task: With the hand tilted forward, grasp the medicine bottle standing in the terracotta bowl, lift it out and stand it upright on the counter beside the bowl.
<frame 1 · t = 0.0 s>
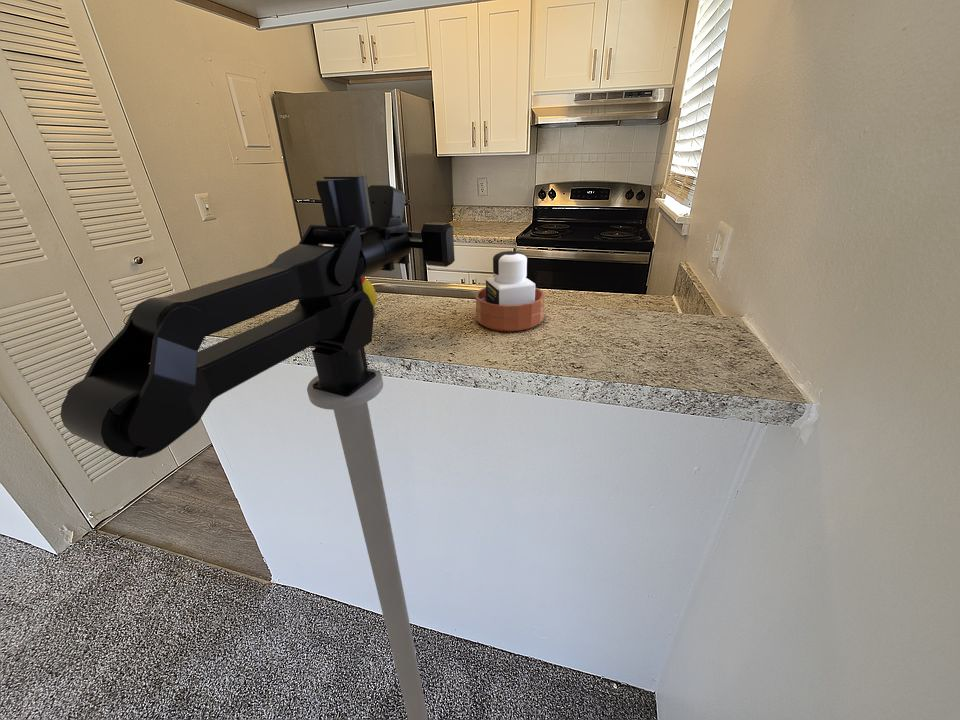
hand: (426, 232, 71), 16 cm above the countertop, tool horizontal, fingers open, 9 cm apart
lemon: (365, 316, 81), on the countertop
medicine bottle: (509, 317, 77), resting on bowl
bowl: (509, 319, 77), on the countertop
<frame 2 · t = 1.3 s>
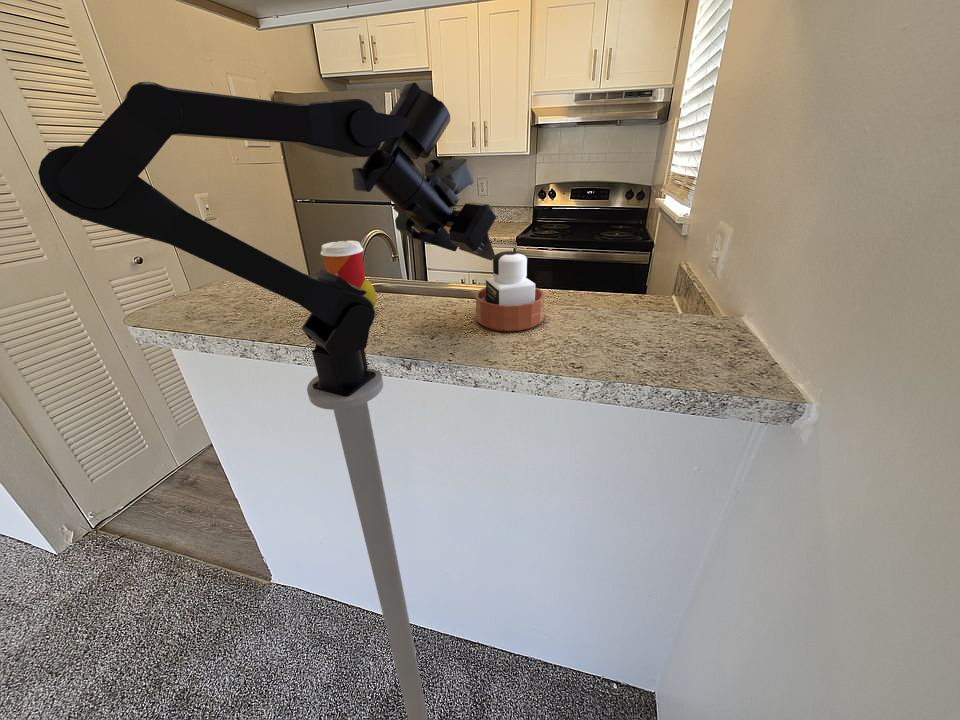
hand: (473, 253, 66), 14 cm above the countertop, tool tilted 45°, fingers open, 9 cm apart
nothing on the countertop moved.
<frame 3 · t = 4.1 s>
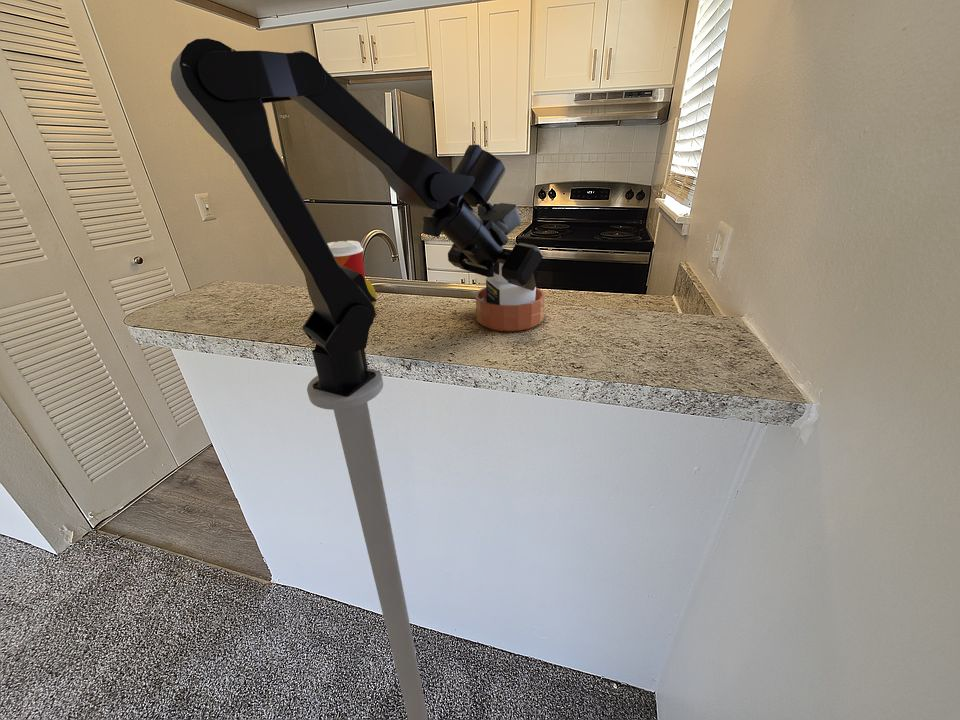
hand: (515, 282, 74), 7 cm above the countertop, tool tilted 45°, fingers closed on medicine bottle, 9 cm apart
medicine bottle: (509, 317, 77), resting on bowl, touching gripper
everything else where it was.
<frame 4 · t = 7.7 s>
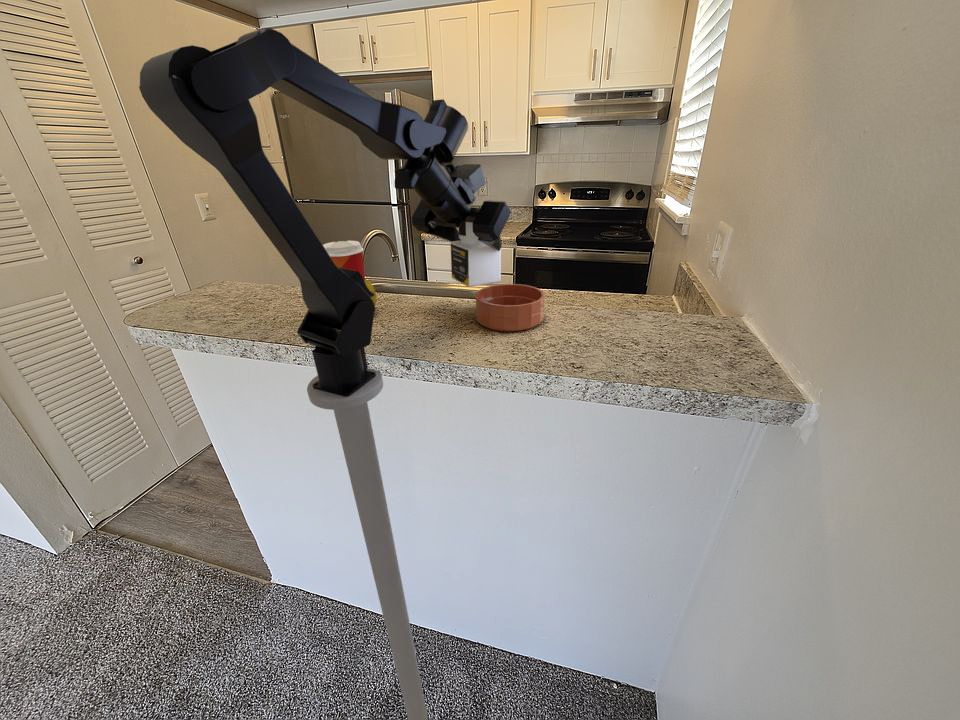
hand: (480, 245, 76), 13 cm above the countertop, tool tilted 45°, fingers closed on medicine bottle, 9 cm apart
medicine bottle: (475, 281, 78), point 6 cm above the countertop, touching gripper
everything else where it was.
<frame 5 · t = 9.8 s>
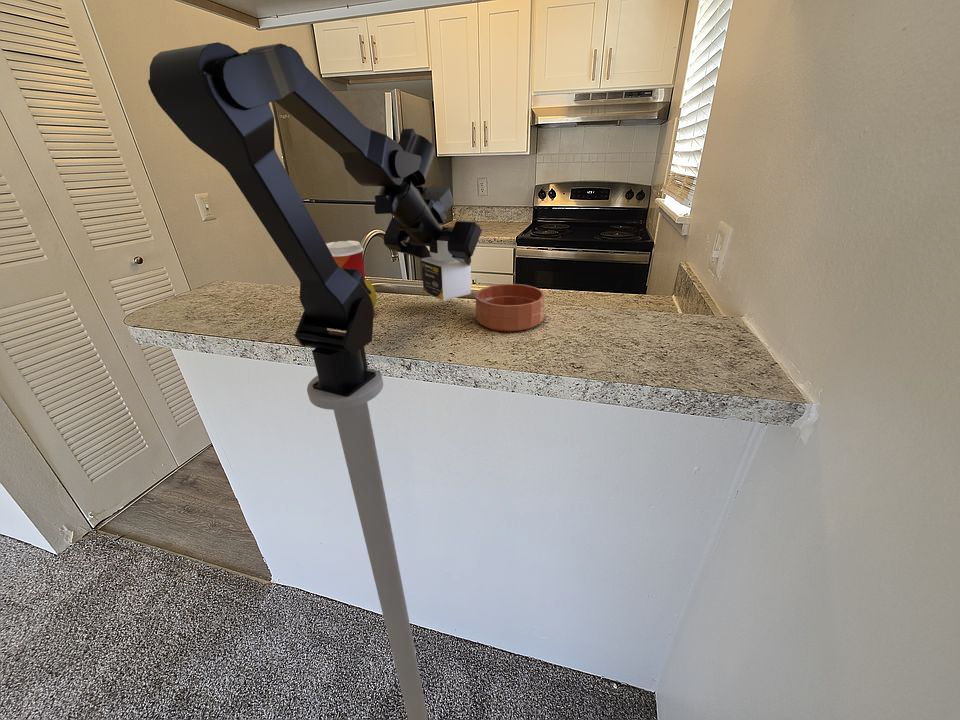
hand: (450, 261, 80), 9 cm above the countertop, tool tilted 45°, fingers closed on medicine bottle, 9 cm apart
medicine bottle: (447, 294, 82), point 3 cm above the countertop, touching gripper
everything else where it was.
when the fingers open (6 cm above the countertop, at t = 11.4 s): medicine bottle stays where it is, on the countertop.
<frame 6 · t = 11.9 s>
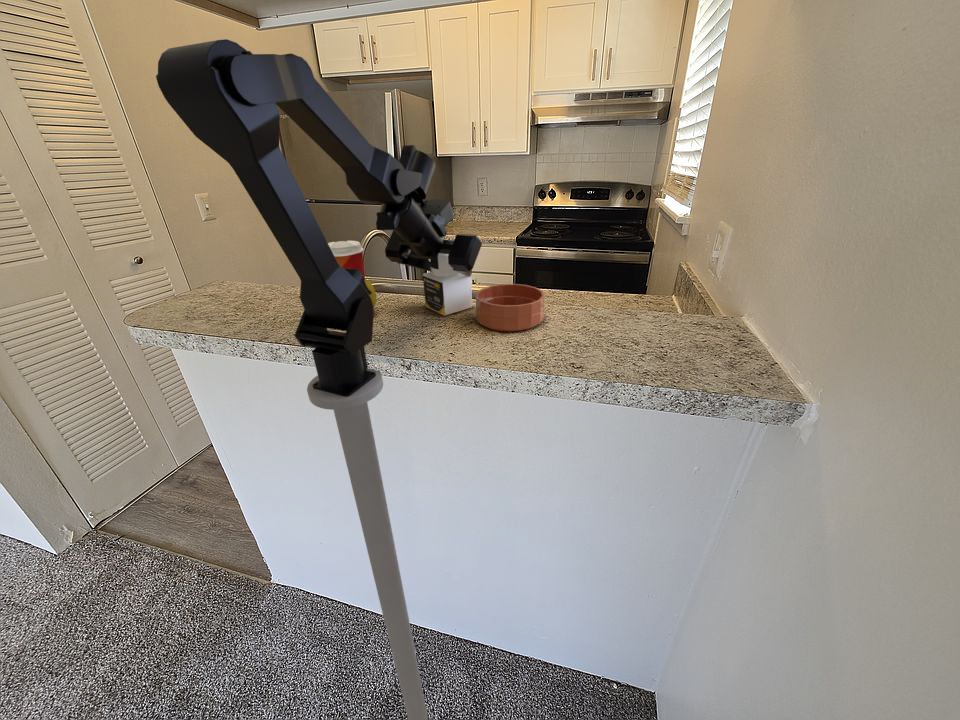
hand: (450, 272, 81), 7 cm above the countertop, tool tilted 45°, fingers open, 9 cm apart
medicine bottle: (449, 308, 84), on the countertop
everything else where it was.
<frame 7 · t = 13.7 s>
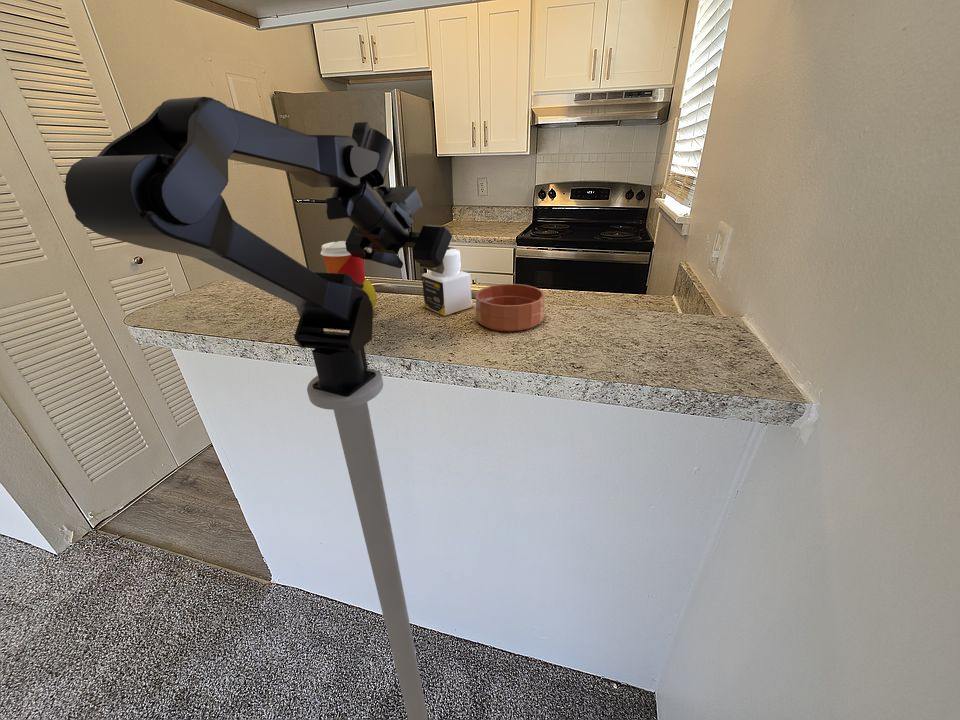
hand: (421, 268, 73), 10 cm above the countertop, tool tilted 45°, fingers open, 9 cm apart
nothing on the countertop moved.
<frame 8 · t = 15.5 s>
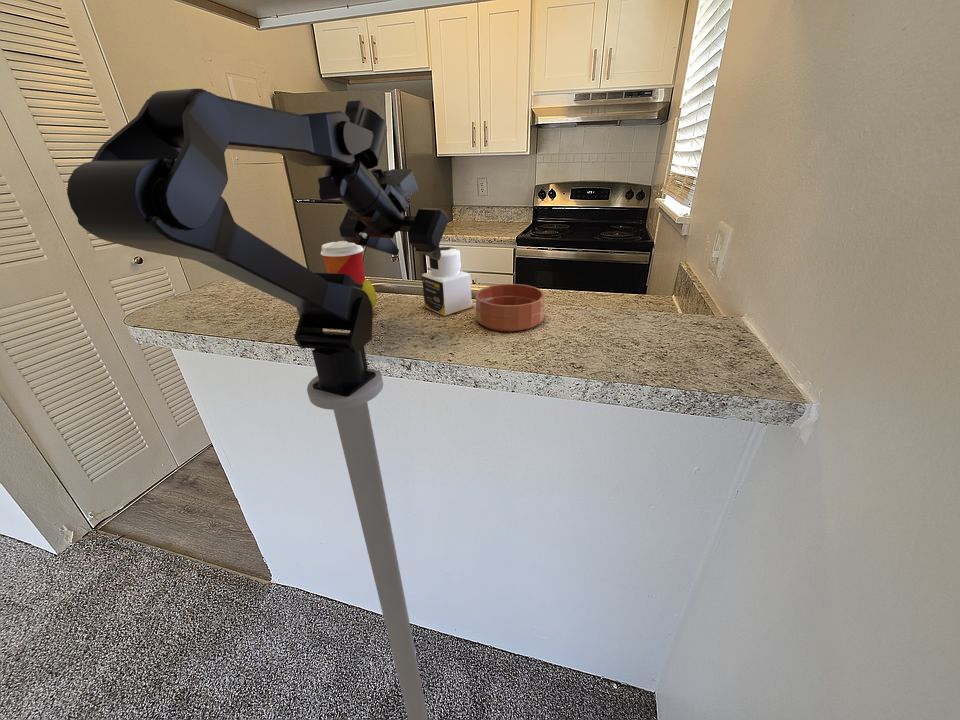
hand: (417, 255, 71), 13 cm above the countertop, tool tilted 45°, fingers open, 9 cm apart
nothing on the countertop moved.
at the end: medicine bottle inside the target area (0.4 cm from its centre), on the countertop; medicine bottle tilted 0°; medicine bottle touching countertop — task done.
